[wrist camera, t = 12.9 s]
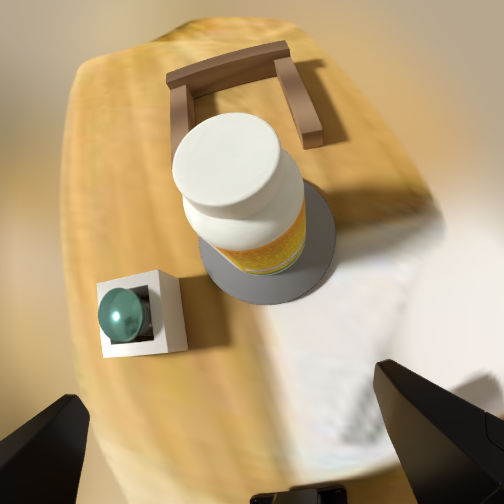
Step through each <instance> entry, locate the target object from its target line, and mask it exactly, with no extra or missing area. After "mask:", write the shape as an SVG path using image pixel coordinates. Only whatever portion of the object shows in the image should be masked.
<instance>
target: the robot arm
mask: <svg viewBox="0 0 504 504" xmlns="http://www.w3.org/2000/svg"><path fill="white" fill-rule="evenodd" d="M373 388H374V392H375V395H376V398H377V401H378V404H379V407H380V410H381V413H382V416H383V420H384V423H385V426H386V429H387V432H388V435H389V437H390V440H391V442H392V444H393V446H394V448H395V451H396V453H397V455H398V457H399V460H400V462H401V464H402V467H403V469H404V471H405V474H406V476H407V478H408V481H409V483H410V485H411V488H412V490H413V493H414V495H415V497H416V500H417V502H418V504H504V420H502V419H500V418H498V417H496V416H494V415H492V414H490V413H488V412H484V410H482V409H480V408H478V407H477V406H475V405H473V404H471V403H469V402H467V401H465V400H464V399H462V398H460V397H458V396H456V395H454V394H452V393H451V392H449V391H447V390H445V389H443V388H441V387H439V386H438V385H436V384H434V383H432V382H430V381H429V380H427V379H425V378H423V377H422V376H420V375H418V374H416V373H414V372H413V371H411V370H409V369H407V368H406V367H404V366H402V365H400V364H398V363H397V362H395V361H393V360H391V359H387V360H383V361H380V362H377V363H376V365H375V372H374V380H373ZM89 420H90V415H89V412H88V410H87V408H86V407H85V406H84V404H83V403H82V401H81V400H80V398H79V397H78V396H77V395H75V394H65V395H64V396H62V397H61V398H59V399H58V400H57V401H55V402H54V403H53V404H51V405H50V406H49V407H47V408H46V409H44V410H43V411H42V412H40V413H39V414H37V415H36V416H35V417H33V418H32V419H31V420H29V421H28V422H26V423H25V424H24V425H22V426H21V427H19V428H18V429H17V430H15V431H14V432H13V433H11V434H10V435H8V436H7V437H6V438H4V439H3V440H2V441H0V504H76V498H77V492H78V487H79V482H80V476H81V471H82V466H83V462H84V457H85V450H86V442H87V434H88V427H89ZM339 490H341V491H342V492H341V493H335V492H336V491H339ZM255 500H259V501H260V502H255ZM250 504H348V502H347V492H346V488H345V487H344V486H343V485H337V486H331V487H326V488H319V489H313V488H312V489H305V490H297V491H288V492H278V493H276V494H263V495H254V496H252V497H251V499H250Z"/></svg>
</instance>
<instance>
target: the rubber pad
mask: <svg viewBox="0 0 504 504" xmlns="http://www.w3.org/2000/svg"><path fill="white" fill-rule="evenodd" d="M303 183H304V196H305V216H306V240H305V245H304V248H303V251H302V253H301V254H300V256H299V257H298V259H297V260H296V261H295V262H294V263H293V264H292V265H291V266H290V267H288V268H287V269H285V270H284V271H282V272H279V273H276V274H273V275H267V276H255V275H251V274H248V273H245V272H243V271H241V270H239V269H238V268H236V267H235V266H234V265H233V264H231V263H230V262H229V261H228V260H227V259H226V258H225V257H223V256H222V255H221V254H220V253H219V252H218V251H217V250H215V249H214V248H213V247H212V246H211V245H210V244H208V243H207V242H206V241H205V240H204V239H202V238H201V237H200V236H199V248H200V254H201V258H202V261H203V264H204V267H205V269H206V271H207V273H208V274H209V276H210V277H211V279H212V280H213V281H214V282H215V283H216V284H217V285H218V287H220V288H221V289H222V290H223V291H225V292H226V293H228V294H229V295H231V296H232V297H235V298H237V299H239V300H241V301H244V302H248V303H251V304H257V305H274V304H281V303H284V302H288V301H291V300H293V299H295V298H298V297H299V296H301V295H303V294H304V293H306V292H307V291H308V290H310V289H311V288H312V287H313V286H314V285H315V284H316V283H317V282H318V281H319V280H320V279H321V278H322V276H323V275H324V273H325V272H326V270H327V268H328V266H329V264H330V262H331V259H332V256H333V252H334V248H335V241H336V230H335V223H334V218H333V215H332V213H331V210H330V208H329V206H328V204H327V202H326V201H325V200H324V198H323V197H322V196H321V195H320V193H319V192H318V191H317V190H316V189H314V188H313V187H312V186H311V185H309V184H308V183H306V182H305V181H303Z"/></svg>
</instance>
